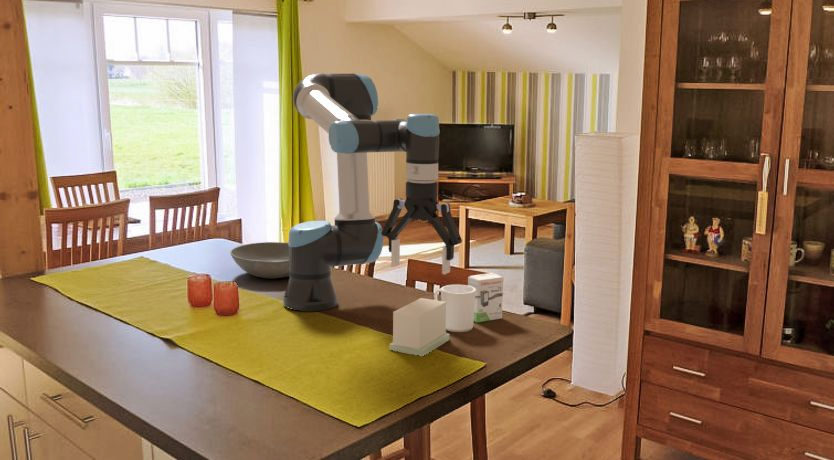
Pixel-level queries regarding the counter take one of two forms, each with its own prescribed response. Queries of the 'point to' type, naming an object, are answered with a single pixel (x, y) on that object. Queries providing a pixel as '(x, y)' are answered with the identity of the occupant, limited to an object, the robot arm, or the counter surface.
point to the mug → (458, 306)
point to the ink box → (487, 296)
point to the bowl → (263, 259)
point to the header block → (425, 349)
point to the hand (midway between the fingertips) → (420, 269)
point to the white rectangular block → (419, 323)
